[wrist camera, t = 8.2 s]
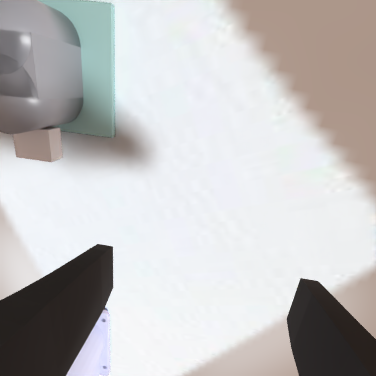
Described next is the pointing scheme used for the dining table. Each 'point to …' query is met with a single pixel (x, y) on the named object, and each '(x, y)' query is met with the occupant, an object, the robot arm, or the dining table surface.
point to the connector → (38, 77)
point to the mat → (93, 65)
